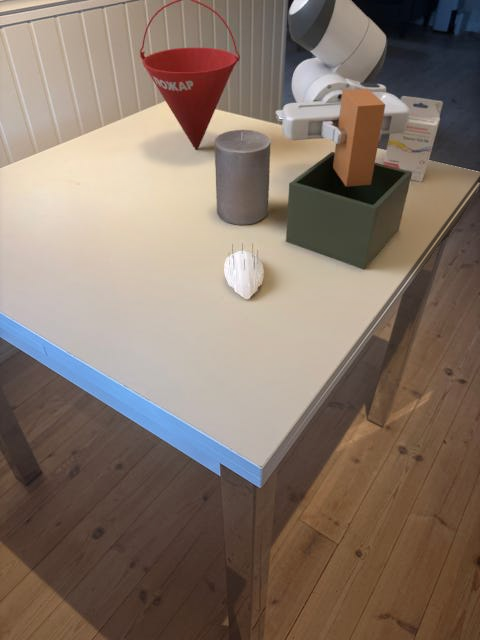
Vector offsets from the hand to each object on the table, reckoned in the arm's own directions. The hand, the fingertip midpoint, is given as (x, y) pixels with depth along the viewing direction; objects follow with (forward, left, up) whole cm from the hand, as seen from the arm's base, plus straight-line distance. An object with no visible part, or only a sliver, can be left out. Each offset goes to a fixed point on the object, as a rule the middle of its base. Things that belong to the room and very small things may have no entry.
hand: (359, 137), depth 73 cm
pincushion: (+19, +8, -18) cm, 27 cm away
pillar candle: (+16, -12, -18) cm, 27 cm away
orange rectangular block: (0, -1, -6) cm, 7 cm away
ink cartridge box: (-20, -22, -18) cm, 35 cm away
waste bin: (0, -1, -17) cm, 18 cm away
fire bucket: (+22, -43, -18) cm, 51 cm away
